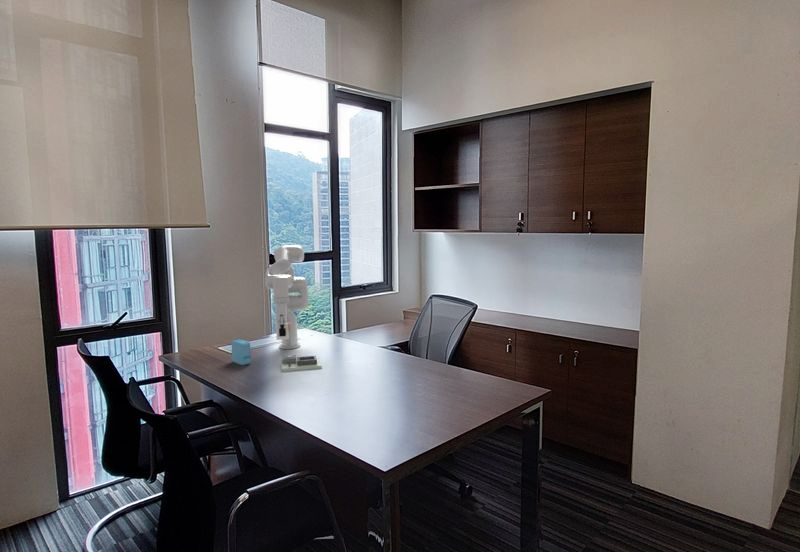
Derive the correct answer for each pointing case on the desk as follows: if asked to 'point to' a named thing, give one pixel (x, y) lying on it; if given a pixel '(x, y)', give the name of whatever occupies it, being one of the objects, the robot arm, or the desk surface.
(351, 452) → the desk surface
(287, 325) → the plug
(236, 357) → the data package
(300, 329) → the desk surface
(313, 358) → the board
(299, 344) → the robot arm
